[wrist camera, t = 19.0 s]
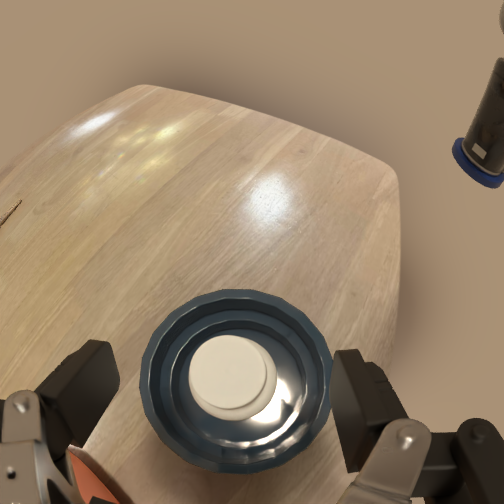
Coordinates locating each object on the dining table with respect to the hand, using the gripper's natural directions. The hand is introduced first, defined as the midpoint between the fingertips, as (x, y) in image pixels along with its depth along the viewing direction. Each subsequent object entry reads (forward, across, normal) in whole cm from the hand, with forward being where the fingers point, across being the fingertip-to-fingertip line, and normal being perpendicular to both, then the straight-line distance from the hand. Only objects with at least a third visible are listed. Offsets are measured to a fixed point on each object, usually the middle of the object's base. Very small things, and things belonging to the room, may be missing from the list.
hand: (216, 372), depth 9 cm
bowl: (+12, 0, +10) cm, 15 cm away
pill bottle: (+11, 0, +10) cm, 15 cm away
